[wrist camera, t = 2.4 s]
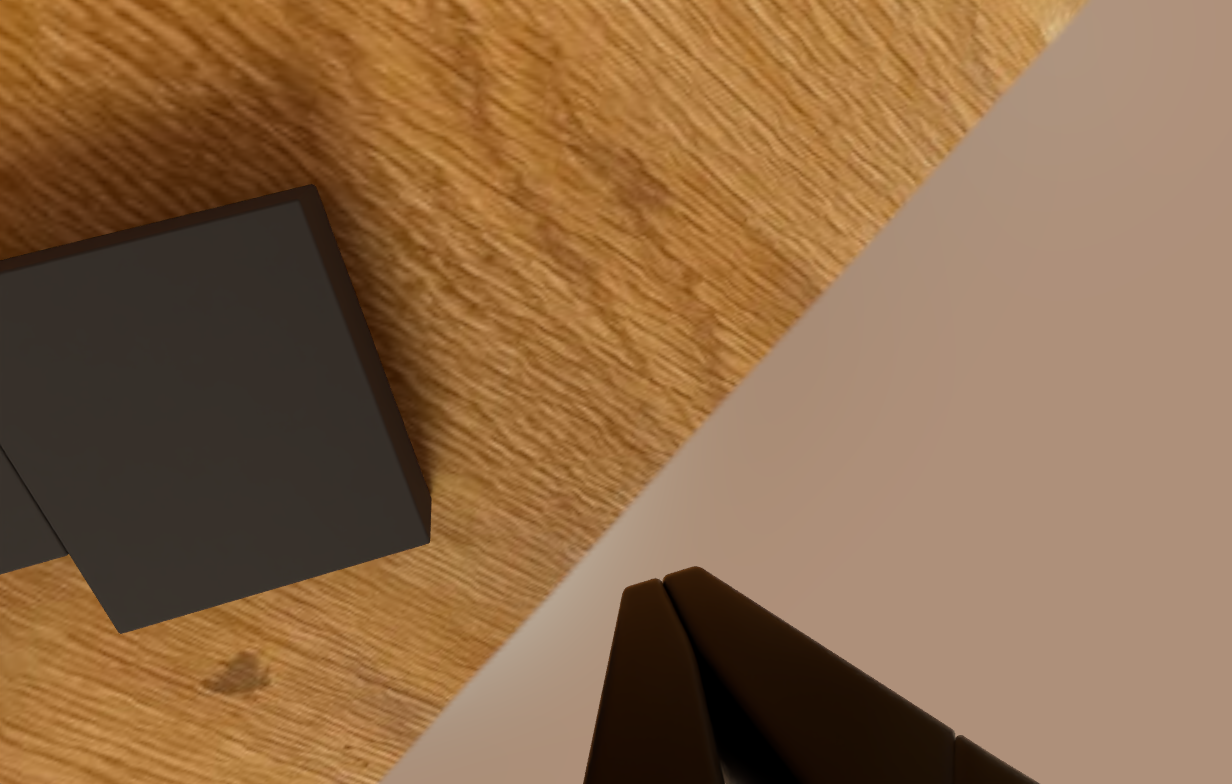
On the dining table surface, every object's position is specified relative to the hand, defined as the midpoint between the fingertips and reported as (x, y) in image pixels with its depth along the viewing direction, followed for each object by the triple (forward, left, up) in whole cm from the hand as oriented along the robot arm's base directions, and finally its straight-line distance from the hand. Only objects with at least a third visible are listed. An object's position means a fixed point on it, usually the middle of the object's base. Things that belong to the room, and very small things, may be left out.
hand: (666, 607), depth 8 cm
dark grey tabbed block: (0, +9, -11) cm, 14 cm away
